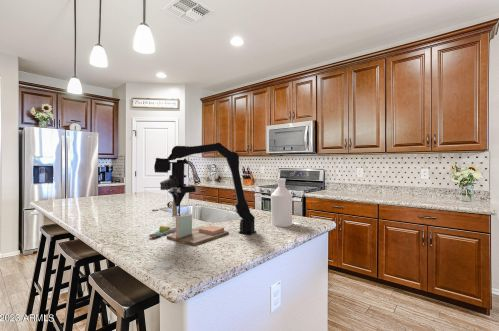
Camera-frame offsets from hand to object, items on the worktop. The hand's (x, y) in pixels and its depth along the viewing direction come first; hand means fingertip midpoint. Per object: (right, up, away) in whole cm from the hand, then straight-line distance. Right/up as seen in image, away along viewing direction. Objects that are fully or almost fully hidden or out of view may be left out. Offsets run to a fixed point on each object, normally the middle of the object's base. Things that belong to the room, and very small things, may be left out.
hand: (177, 206), depth 125 cm
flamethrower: (-6, -14, +9) cm, 18 cm away
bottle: (+51, -14, +23) cm, 58 cm away
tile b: (+4, -13, -4) cm, 14 cm away
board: (+10, -14, -1) cm, 17 cm away
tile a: (+12, -12, +6) cm, 18 cm away
